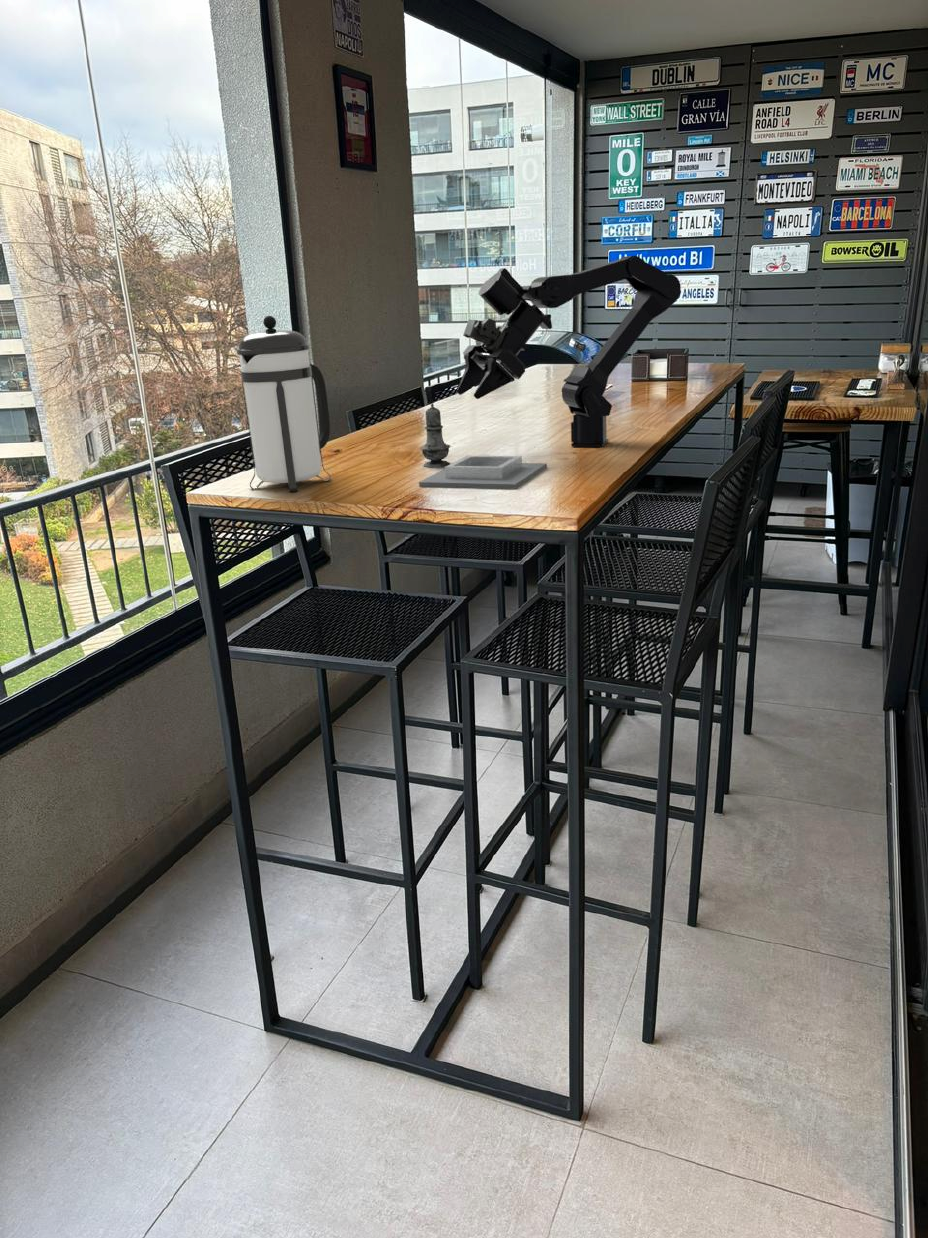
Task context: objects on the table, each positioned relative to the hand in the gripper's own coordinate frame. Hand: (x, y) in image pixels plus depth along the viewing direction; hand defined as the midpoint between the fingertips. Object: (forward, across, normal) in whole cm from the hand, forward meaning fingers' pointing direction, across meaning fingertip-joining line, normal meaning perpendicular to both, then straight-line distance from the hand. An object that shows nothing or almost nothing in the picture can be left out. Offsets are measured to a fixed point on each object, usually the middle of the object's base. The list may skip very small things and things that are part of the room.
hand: (466, 395), depth 176 cm
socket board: (+12, +17, +6) cm, 21 cm away
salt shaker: (+14, 0, +4) cm, 15 cm away
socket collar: (+12, +17, +6) cm, 21 cm away
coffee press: (+34, 0, -16) cm, 38 cm away
